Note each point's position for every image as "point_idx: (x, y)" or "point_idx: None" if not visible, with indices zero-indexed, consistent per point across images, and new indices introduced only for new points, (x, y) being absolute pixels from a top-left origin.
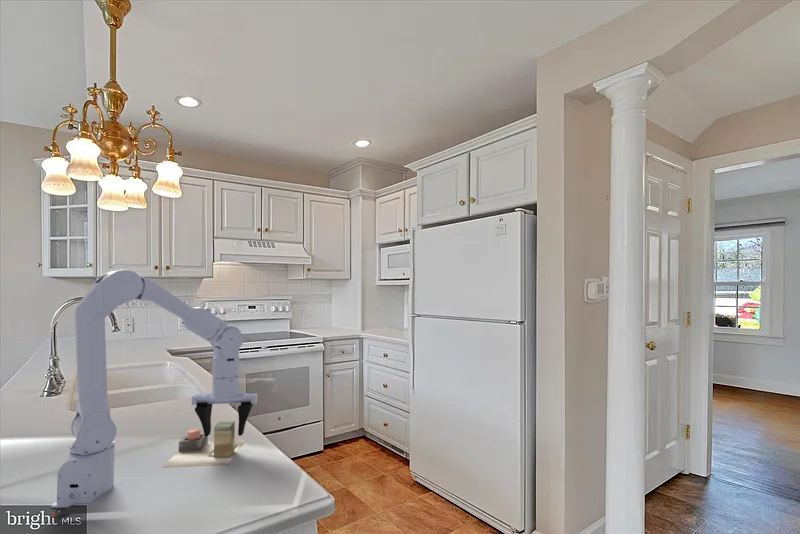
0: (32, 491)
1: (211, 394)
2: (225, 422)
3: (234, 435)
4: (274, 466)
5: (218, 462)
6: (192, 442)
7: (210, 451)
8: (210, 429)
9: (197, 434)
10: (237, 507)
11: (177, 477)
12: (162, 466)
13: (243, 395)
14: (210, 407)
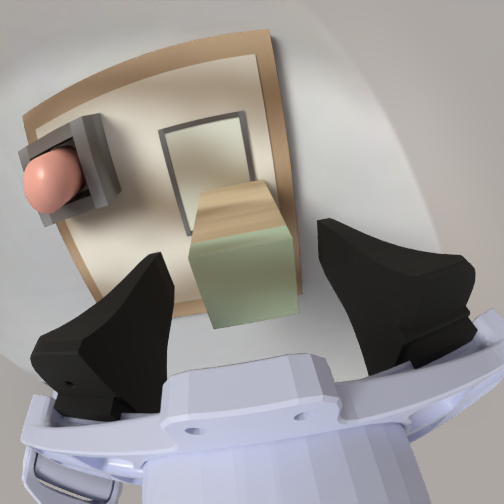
0: (23, 359)
1: (89, 449)
2: (238, 266)
3: (274, 203)
4: (402, 242)
5: None
6: (83, 211)
7: (164, 191)
8: (157, 263)
9: (70, 191)
10: (349, 372)
11: (179, 325)
12: None
13: (439, 415)
14: (118, 357)
